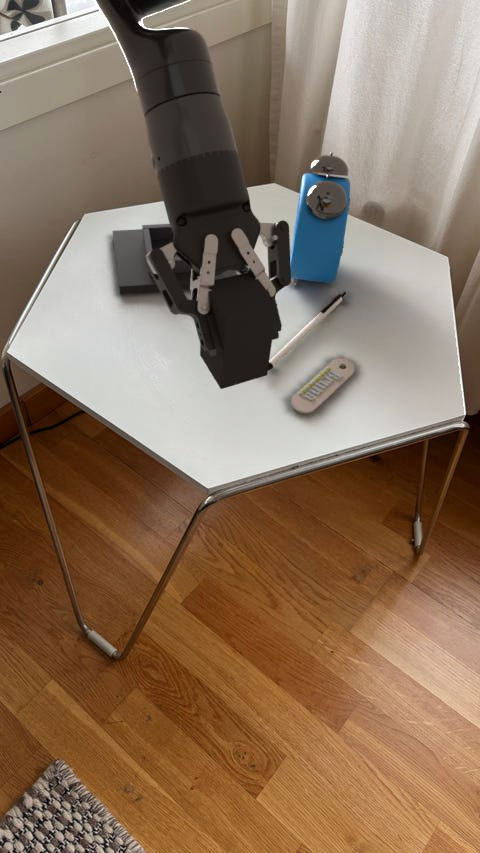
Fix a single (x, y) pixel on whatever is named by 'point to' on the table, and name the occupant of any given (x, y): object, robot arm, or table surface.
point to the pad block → (241, 329)
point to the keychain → (322, 386)
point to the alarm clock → (321, 221)
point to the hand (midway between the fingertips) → (244, 346)
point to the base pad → (131, 259)
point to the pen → (305, 331)
